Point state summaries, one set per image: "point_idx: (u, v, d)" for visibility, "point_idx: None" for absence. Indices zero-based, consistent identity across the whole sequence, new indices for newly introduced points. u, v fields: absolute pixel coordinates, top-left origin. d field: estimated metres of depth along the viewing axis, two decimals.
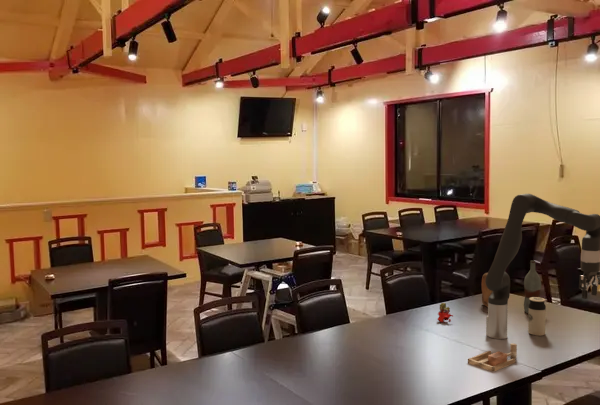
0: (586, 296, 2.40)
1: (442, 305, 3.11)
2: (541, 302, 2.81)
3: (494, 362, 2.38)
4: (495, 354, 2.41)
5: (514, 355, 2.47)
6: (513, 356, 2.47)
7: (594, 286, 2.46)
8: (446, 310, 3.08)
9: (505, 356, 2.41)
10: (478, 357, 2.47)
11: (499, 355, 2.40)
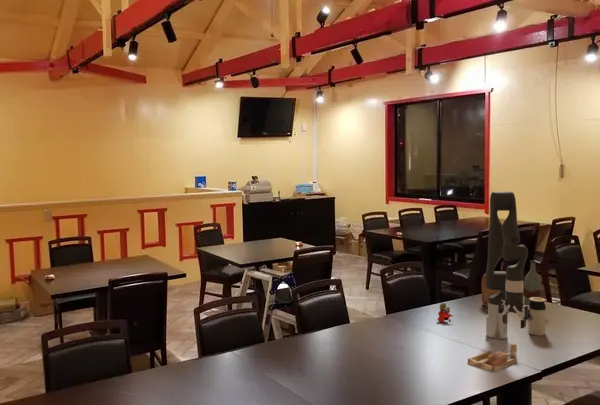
0: None
1: (442, 305, 3.11)
2: (541, 302, 2.81)
3: (494, 362, 2.38)
4: (495, 354, 2.41)
5: (514, 355, 2.47)
6: (513, 356, 2.47)
7: (505, 315, 2.50)
8: (446, 310, 3.08)
9: (505, 356, 2.41)
10: (478, 357, 2.47)
11: (499, 355, 2.40)
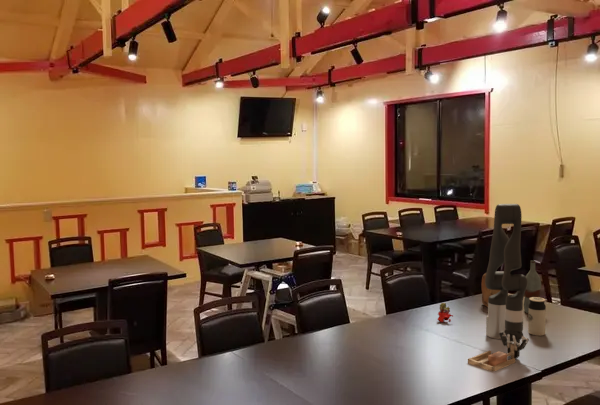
0: None
1: (442, 305, 3.11)
2: (541, 302, 2.81)
3: (494, 362, 2.38)
4: (495, 354, 2.41)
5: None
6: (513, 356, 2.47)
7: None
8: (446, 310, 3.08)
9: (505, 356, 2.41)
10: (478, 357, 2.47)
11: (499, 355, 2.40)
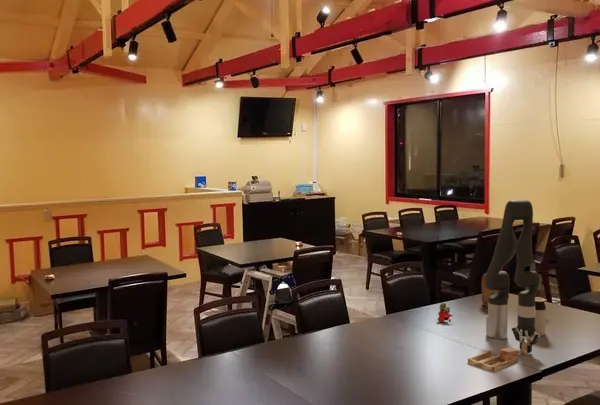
0: None
1: (442, 305, 3.11)
2: (541, 302, 2.81)
3: (505, 356, 2.44)
4: (507, 349, 2.47)
5: (525, 353, 2.53)
6: (524, 354, 2.53)
7: None
8: (446, 310, 3.08)
9: (516, 352, 2.47)
10: (478, 357, 2.47)
11: (511, 350, 2.46)
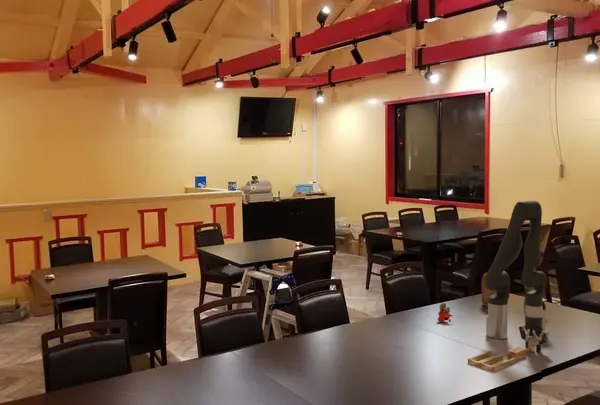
0: None
1: (442, 305, 3.11)
2: None
3: (513, 357, 2.47)
4: (514, 349, 2.50)
5: (532, 350, 2.56)
6: (531, 351, 2.56)
7: (528, 341, 2.60)
8: (446, 310, 3.08)
9: (524, 351, 2.50)
10: (478, 357, 2.47)
11: (518, 350, 2.49)
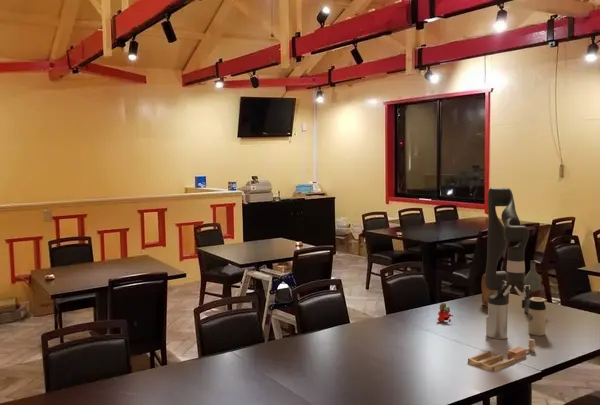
0: None
1: (442, 305, 3.11)
2: (541, 302, 2.81)
3: (513, 357, 2.47)
4: (514, 349, 2.50)
5: (532, 350, 2.56)
6: (531, 351, 2.56)
7: (507, 295, 2.54)
8: (446, 310, 3.08)
9: (524, 351, 2.50)
10: (478, 357, 2.47)
11: (518, 350, 2.49)
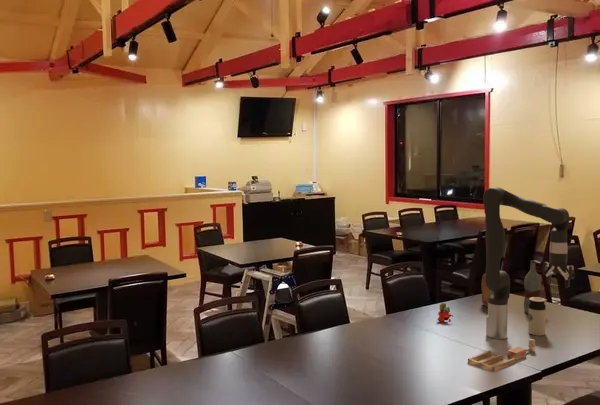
0: None
1: (442, 305, 3.11)
2: (541, 302, 2.81)
3: (513, 357, 2.47)
4: (514, 349, 2.50)
5: (532, 350, 2.56)
6: (531, 351, 2.56)
7: (549, 276, 2.63)
8: (446, 310, 3.08)
9: (524, 351, 2.50)
10: (478, 357, 2.47)
11: (518, 350, 2.49)
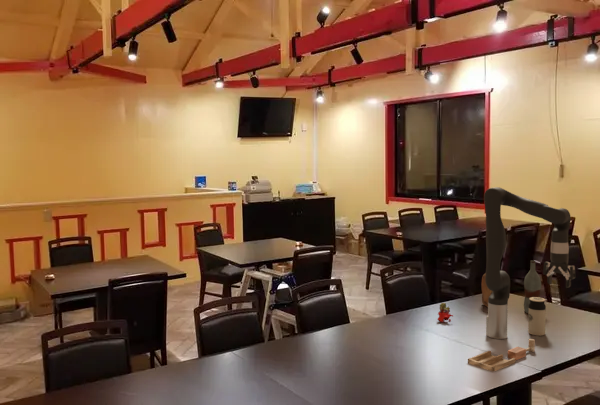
0: None
1: (442, 305, 3.11)
2: (541, 302, 2.81)
3: (513, 357, 2.47)
4: (514, 349, 2.50)
5: (532, 350, 2.56)
6: (531, 351, 2.56)
7: (550, 276, 2.64)
8: (446, 310, 3.08)
9: (524, 351, 2.50)
10: (478, 357, 2.47)
11: (518, 350, 2.49)
